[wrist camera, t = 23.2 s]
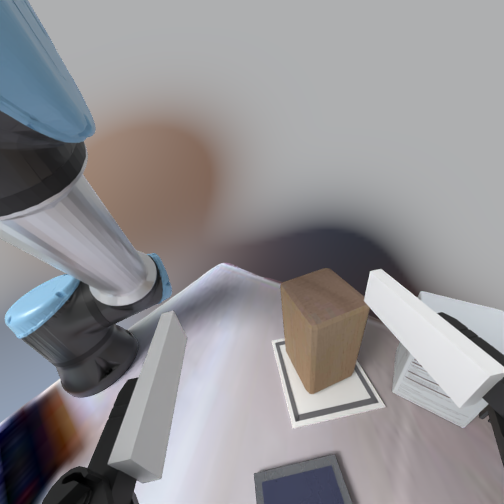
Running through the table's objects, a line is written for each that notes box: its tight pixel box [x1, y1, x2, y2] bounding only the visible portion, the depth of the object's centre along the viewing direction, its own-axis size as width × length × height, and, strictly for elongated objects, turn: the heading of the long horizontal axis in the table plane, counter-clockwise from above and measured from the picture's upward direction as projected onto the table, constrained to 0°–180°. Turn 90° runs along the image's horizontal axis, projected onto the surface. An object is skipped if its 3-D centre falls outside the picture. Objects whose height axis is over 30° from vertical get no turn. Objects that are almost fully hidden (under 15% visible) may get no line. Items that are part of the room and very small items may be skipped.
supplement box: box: [392, 291, 504, 428], centre depth 30 cm, size 10×9×17 cm
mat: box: [272, 338, 386, 429], centre depth 39 cm, size 16×16×1 cm
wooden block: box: [280, 268, 370, 394], centre depth 34 cm, size 10×10×20 cm
